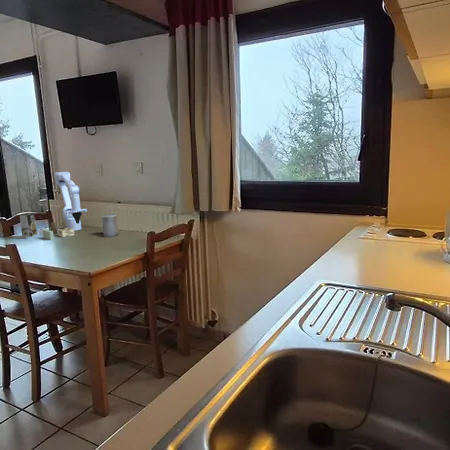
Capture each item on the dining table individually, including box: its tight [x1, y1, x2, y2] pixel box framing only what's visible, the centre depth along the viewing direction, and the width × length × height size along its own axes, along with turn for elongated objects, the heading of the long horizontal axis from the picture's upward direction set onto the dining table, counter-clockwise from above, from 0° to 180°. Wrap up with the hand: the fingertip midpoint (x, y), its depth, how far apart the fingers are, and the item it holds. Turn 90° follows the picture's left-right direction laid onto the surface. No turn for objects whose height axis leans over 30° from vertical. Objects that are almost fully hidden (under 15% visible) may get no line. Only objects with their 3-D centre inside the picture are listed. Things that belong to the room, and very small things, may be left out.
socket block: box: [56, 227, 75, 238], centre depth 277 cm, size 8×8×4 cm
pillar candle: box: [101, 213, 119, 238], centre depth 276 cm, size 10×10×15 cm
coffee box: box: [19, 212, 38, 240], centre depth 280 cm, size 9×6×16 cm
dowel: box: [50, 222, 58, 235], centre depth 283 cm, size 3×3×9 cm
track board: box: [41, 228, 55, 241], centre depth 275 cm, size 21×14×6 cm, turn 136°
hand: (77, 223), depth 282 cm, fingers closed
